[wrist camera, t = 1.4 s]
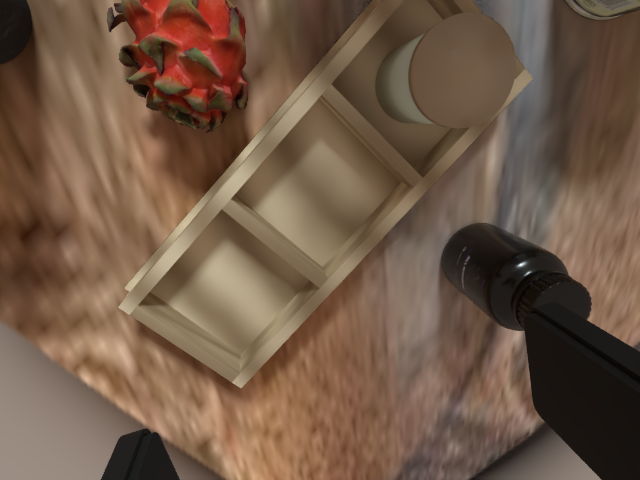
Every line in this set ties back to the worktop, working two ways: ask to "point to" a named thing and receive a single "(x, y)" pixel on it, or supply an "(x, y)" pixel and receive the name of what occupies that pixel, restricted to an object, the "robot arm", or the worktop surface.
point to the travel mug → (13, 28)
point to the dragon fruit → (186, 57)
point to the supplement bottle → (509, 275)
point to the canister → (449, 73)
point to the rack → (300, 202)
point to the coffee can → (603, 8)
